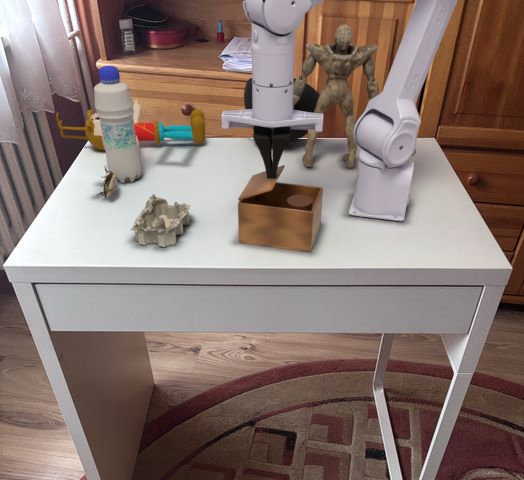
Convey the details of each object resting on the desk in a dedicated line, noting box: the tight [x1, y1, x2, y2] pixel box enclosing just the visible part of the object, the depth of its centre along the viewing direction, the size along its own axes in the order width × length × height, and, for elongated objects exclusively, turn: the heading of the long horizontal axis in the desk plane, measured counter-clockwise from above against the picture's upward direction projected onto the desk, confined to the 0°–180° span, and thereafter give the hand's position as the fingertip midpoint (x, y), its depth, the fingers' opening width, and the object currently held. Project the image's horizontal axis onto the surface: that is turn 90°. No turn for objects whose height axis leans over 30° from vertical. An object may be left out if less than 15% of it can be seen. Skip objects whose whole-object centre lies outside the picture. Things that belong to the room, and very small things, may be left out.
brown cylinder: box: [287, 195, 312, 211], centre depth 88 cm, size 4×4×6 cm
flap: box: [237, 164, 285, 201], centre depth 86 cm, size 6×9×1 cm, turn 166°
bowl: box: [243, 77, 320, 147], centre depth 115 cm, size 17×17×10 cm
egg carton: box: [130, 193, 191, 248], centre depth 90 cm, size 11×8×4 cm
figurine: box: [293, 23, 380, 169], centre depth 104 cm, size 18×8×25 cm, turn 91°
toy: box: [55, 99, 206, 153], centre depth 116 cm, size 25×8×30 cm
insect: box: [96, 164, 118, 198], centre depth 100 cm, size 6×9×3 cm
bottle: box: [93, 65, 142, 184], centre depth 100 cm, size 7×7×20 cm
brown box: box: [237, 181, 324, 253], centre depth 88 cm, size 12×9×7 cm
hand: (271, 175), depth 85 cm, fingers closed
